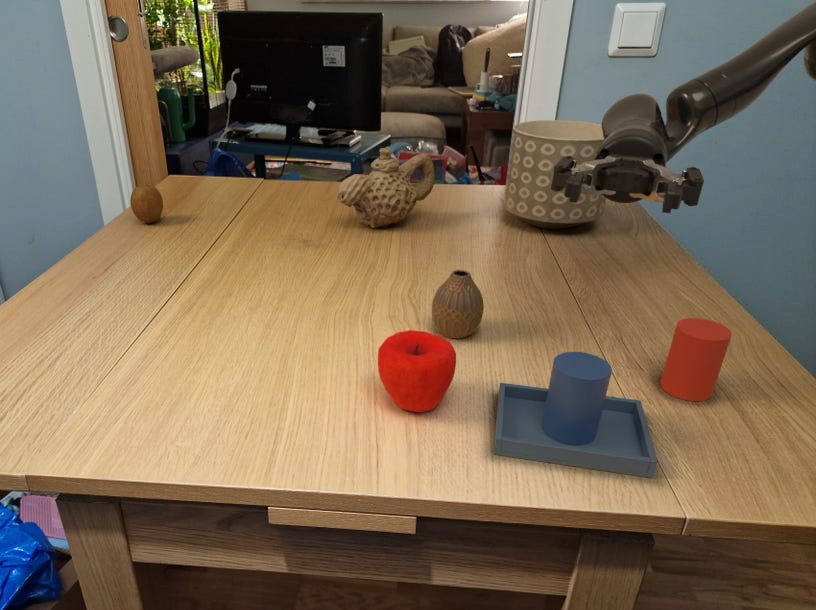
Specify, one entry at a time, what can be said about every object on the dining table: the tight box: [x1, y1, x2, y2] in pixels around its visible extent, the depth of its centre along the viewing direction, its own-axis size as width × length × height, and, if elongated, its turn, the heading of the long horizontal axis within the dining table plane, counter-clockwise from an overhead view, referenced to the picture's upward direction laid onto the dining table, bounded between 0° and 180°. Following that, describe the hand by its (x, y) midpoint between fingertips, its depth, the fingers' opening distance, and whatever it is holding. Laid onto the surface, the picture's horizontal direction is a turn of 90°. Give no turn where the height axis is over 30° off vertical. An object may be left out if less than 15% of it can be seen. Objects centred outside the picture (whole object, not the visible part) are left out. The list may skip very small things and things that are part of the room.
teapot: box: [337, 146, 436, 229], centre depth 129 cm, size 21×12×15 cm, turn 118°
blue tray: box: [493, 382, 658, 479], centre depth 70 cm, size 15×11×2 cm
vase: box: [431, 269, 485, 339], centre depth 89 cm, size 7×7×9 cm
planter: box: [503, 119, 607, 230], centre depth 129 cm, size 19×19×18 cm
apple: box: [377, 329, 457, 413], centre depth 74 cm, size 9×9×8 cm
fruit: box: [129, 182, 164, 225], centre depth 131 cm, size 6×6×8 cm
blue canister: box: [542, 351, 613, 445], centre depth 69 cm, size 6×6×8 cm
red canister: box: [659, 317, 733, 402], centre depth 77 cm, size 6×6×8 cm
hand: (620, 197), depth 64 cm, fingers open, 8 cm apart
